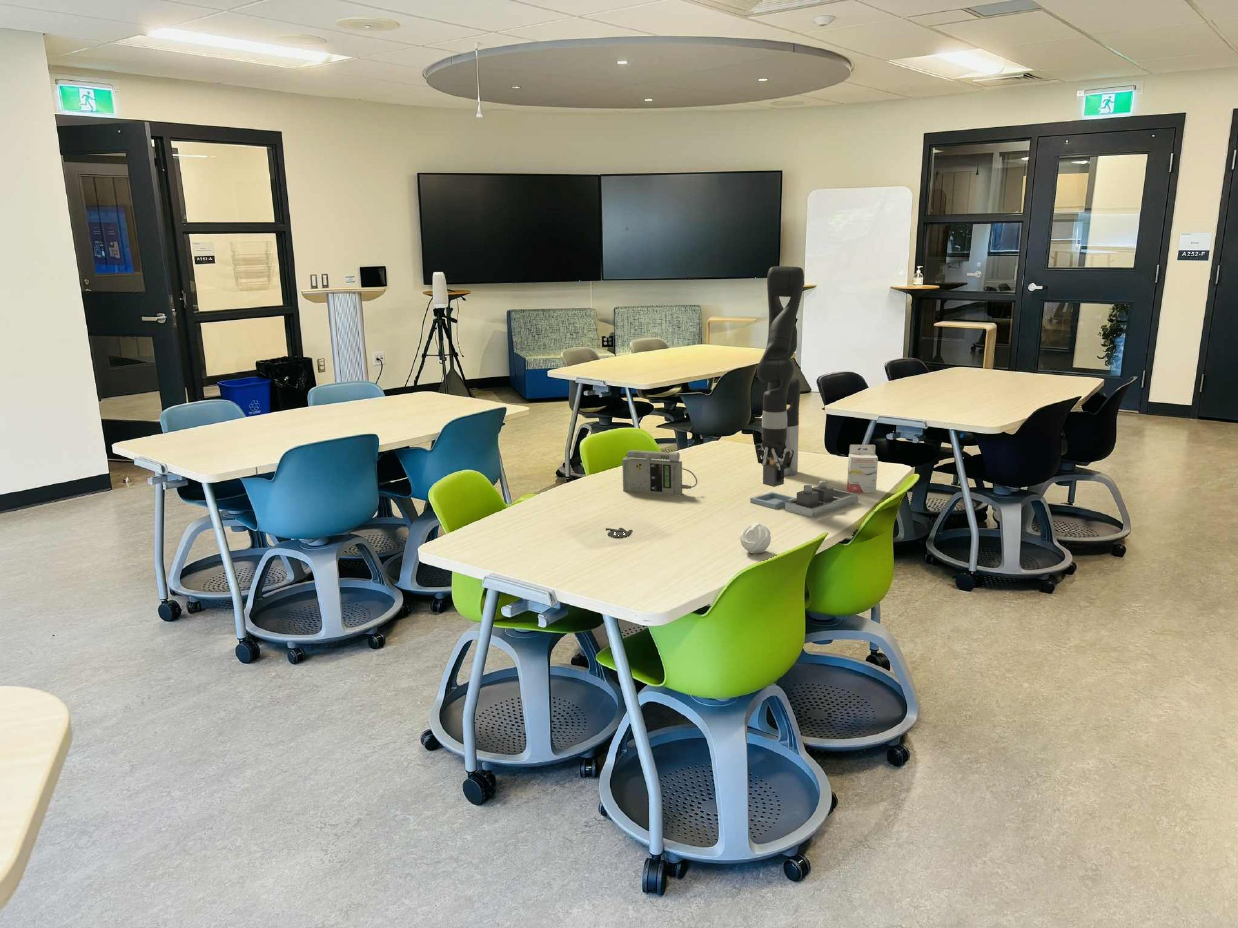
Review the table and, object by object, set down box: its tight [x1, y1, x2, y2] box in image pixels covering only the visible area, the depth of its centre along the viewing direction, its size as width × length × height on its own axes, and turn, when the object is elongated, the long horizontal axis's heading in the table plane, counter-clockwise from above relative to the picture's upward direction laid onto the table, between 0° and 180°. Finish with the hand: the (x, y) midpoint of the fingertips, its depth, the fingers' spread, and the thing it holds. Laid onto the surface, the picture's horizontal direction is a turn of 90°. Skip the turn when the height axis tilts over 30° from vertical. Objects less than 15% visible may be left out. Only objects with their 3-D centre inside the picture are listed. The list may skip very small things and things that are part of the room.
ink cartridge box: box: [846, 444, 879, 494], centre depth 288 cm, size 9×5×15 cm, turn 84°
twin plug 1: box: [796, 484, 819, 508], centre depth 267 cm, size 4×4×8 cm
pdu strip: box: [784, 488, 859, 519], centre depth 272 cm, size 10×22×3 cm, turn 130°
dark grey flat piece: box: [605, 527, 633, 539], centre depth 254 cm, size 9×8×1 cm
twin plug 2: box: [812, 480, 834, 503], centre depth 271 cm, size 4×4×8 cm
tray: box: [749, 491, 797, 510], centre depth 278 cm, size 10×10×2 cm
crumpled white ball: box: [739, 522, 772, 554], centre depth 235 cm, size 8×8×8 cm
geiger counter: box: [621, 449, 698, 497], centre depth 292 cm, size 14×6×25 cm
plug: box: [762, 458, 785, 488], centre depth 276 cm, size 4×4×8 cm
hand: (773, 479), depth 276 cm, fingers closed on plug, 4 cm apart
